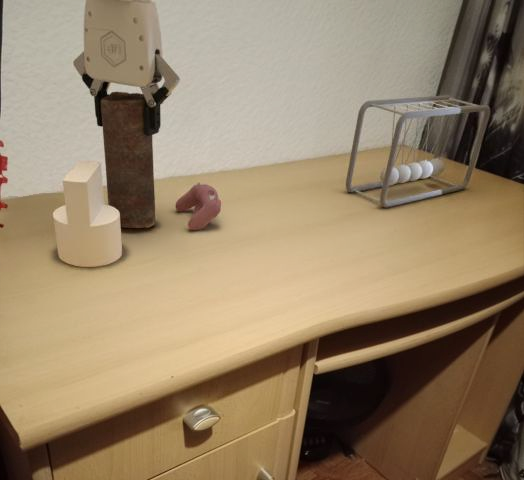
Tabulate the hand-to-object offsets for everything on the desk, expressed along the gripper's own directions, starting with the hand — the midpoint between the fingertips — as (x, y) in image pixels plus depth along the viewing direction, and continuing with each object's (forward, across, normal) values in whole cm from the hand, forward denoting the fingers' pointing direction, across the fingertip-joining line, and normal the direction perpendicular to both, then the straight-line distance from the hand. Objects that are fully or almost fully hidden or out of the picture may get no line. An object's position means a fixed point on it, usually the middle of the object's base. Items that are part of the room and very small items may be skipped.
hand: (128, 128), depth 80 cm
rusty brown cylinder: (+15, 0, 0) cm, 15 cm away
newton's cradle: (+15, +40, +47) cm, 64 cm away
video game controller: (+15, +8, +8) cm, 19 cm away
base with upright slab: (+15, 0, -12) cm, 20 cm away
